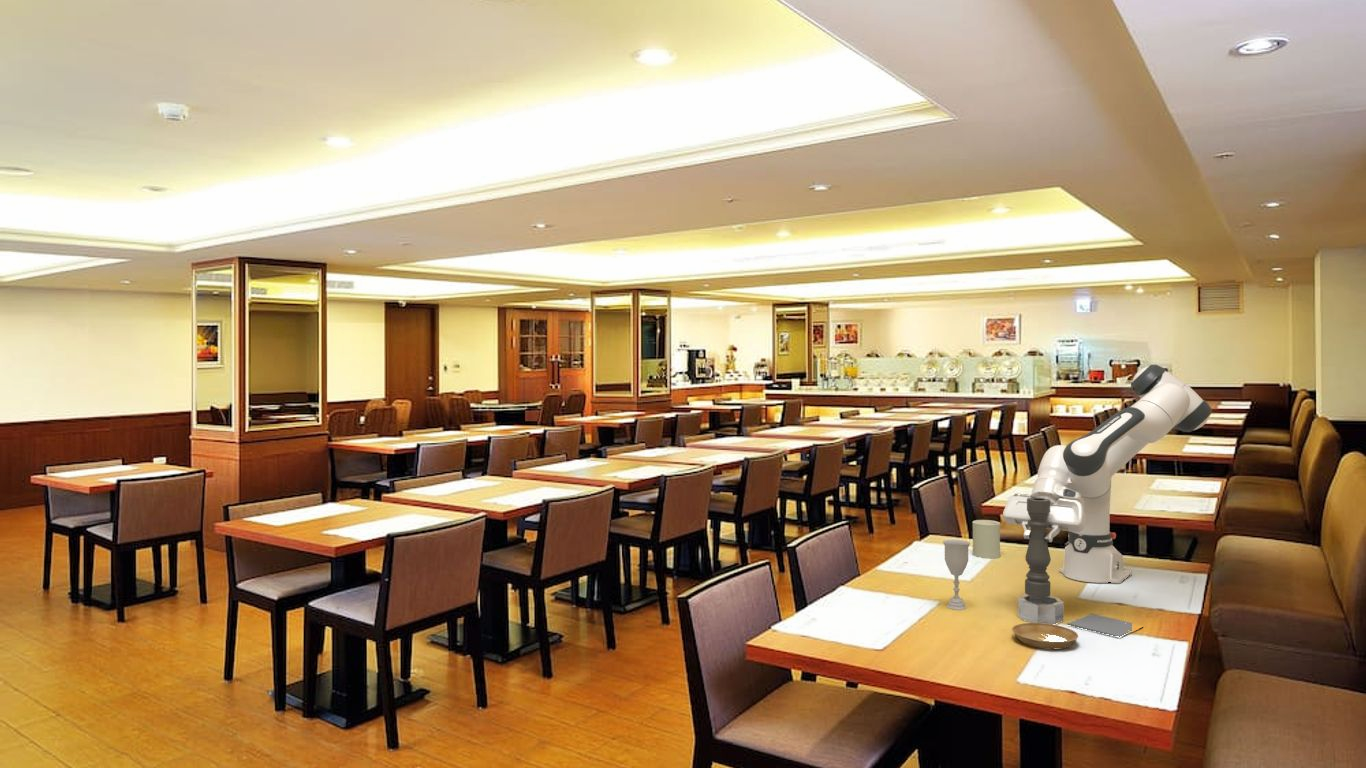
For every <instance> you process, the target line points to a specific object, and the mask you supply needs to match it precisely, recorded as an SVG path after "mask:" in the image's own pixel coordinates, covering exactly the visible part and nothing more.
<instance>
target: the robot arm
mask: <svg viewBox="0 0 1366 768" xmlns="http://www.w3.org/2000/svg"><path fill="white" fill-rule="evenodd" d="M1130 388H1131V390H1132V392H1133V394H1134V395H1135V397H1138V398H1140V399H1139V400H1138V401H1136V402H1134V404H1132V405H1131V406H1130V407H1129V406H1128V407H1125V408H1123V409H1121V410H1118V411H1117V412H1116V413H1114V414H1113V415H1112V416H1110V417H1109V418H1107V419H1105V421H1103V422H1102V423H1100V425H1098V426H1097V427H1095V428H1094V429H1092V430H1091V431H1090V432H1088V433H1086V434H1084V435H1082V436H1080V437H1078V438H1076V439H1073V440H1072V441H1071V442H1069V443H1068V444H1067V445H1064V444H1063V445H1062V444H1057V445H1053V446H1051V447H1050V448H1048V449H1047V450H1046V451H1045V452H1044V454H1043V456H1042V459H1041V461H1040V463H1039V467H1038V470H1037V478H1036V480H1035V481H1034V484H1033V487H1032V490H1031V494H1020V493H1014V494H1012V495H1010V496H1008V498H1007V501H1006V505H1005V507H1004V509H1003V512H1002V518H1003V520H1004V521H1005V523H1006V524H1008V525H1014V526H1022V528H1023V530H1024V532H1023V538H1024V540H1025V539H1026V540H1030V525H1029V524H1028V521H1029V520H1031V518H1030V516H1029V515H1028V511H1027V498H1046V499H1050V513H1049V516H1048V517H1047V519H1046V521H1047V522H1049V526H1047V528H1046V530H1047V529H1049V530H1050V532H1046V534H1045V535H1046V536H1045V541H1046V542H1047V543H1052V542H1053V540H1054V538H1055V537H1056V536H1057V535H1059V534H1060V531H1062V532H1063V531H1065V532H1068V535H1067V536H1068V545H1066V546H1065V547H1064V554H1063V565H1062V567H1060V568H1059V573H1061V574H1063V575H1064V576H1065V577H1067V578H1068V579H1071V580H1074V581H1079V582H1086V583H1097V584H1100V583H1101V584H1102V583H1103V584H1104V583H1105V584H1106V583H1107V584H1108V582H1111V583H1110V584H1121V583H1123V582H1124V581H1125V580H1126V578H1127V577H1128V576H1129V575H1130V576H1132V575H1133V571H1132V570H1130V569H1127V568H1125V567H1124V556H1123V555H1122V553H1121V552H1120V551H1119V550H1117V548H1115V546H1114V545H1113V544H1114V541H1113V540H1115V539H1116V538H1117V534H1116V532H1111V531H1110V523H1111V522H1110V520H1111V519H1110V518H1111V517H1110V516H1111V515H1110V509H1111V507H1110V506H1111V497H1112V495H1111V493H1112V477H1113V476H1114V475H1116V473H1118V471H1120V470H1122V468H1123V467H1124V466H1125V465H1127V463H1129V461H1130V460H1132V459H1133V458H1134V457H1135V456H1136V455H1137V454H1138V453H1140V452H1141V451H1142V450H1143V449H1144V448H1145V447H1146V446H1147V445H1149V444H1153V443H1156V442H1157V441H1160V440H1161V439H1163V438H1164V437H1165V436H1166V435H1167V434H1168V433H1169V432H1170V431H1172V429H1173V430H1179V431H1181V432H1186V433H1191V432H1193V431H1196V430H1198V429H1200V428H1202V427H1203V426H1205V425H1206V423H1207V422H1208V421H1209V419H1210V416H1211V414H1212V411H1213V409H1212V407H1211V405H1210V404H1209V402H1207V401H1206V399H1203V398H1201V396H1199V394H1198V393H1197V392H1196V391H1195V390H1194V389H1193V388H1192V387H1190V386H1189V385H1188V384H1187V383H1184V382H1183V381H1182V380H1181V379H1178V378H1177V377H1176V376H1175V375H1173V374H1171V373H1170V372H1168V371H1167V370H1166V368H1164V367H1162V366H1160V365H1159V364H1150V365H1148V366H1145V367H1143V368H1141V369H1139V370H1138V371H1137V372H1136V373H1135V375H1134V376H1133V377H1132V381H1131V383H1130ZM1131 574H1132V575H1131ZM1130 576H1129V577H1130ZM1129 577H1128V578H1129ZM1128 578H1127V579H1128ZM1124 579H1125V580H1124ZM1123 580H1124V581H1123ZM1122 581H1123V582H1122Z"/></svg>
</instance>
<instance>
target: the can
mask: <svg viewBox="0 0 1366 768" xmlns="http://www.w3.org/2000/svg"><path fill="white" fill-rule="evenodd" d="M971 555H972V556H973V555H974V557H975V556H976V557H977V558H979V557H981V558H980V559H998V558H1000V557H1002V556H1001V522H999V521H998V520H997V521H996V520H990V519H976V520H973V521H972V553H971Z"/></svg>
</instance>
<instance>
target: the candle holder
mask: <svg viewBox="0 0 1366 768" xmlns="http://www.w3.org/2000/svg"><path fill="white" fill-rule="evenodd" d="M1027 511H1028V515H1029V516H1030V518H1031V520H1029V521H1028V524H1029V525H1030V527H1029V531H1030V539H1029V542H1028V545H1027V550H1026V553H1025V556H1024V557H1025V559H1024V560H1025V562H1026V563H1027V565H1028V569H1029V570H1028V571H1027V573H1026V574H1025V577H1026V578H1025V580H1024V594H1027V595H1030V596H1034V597H1048V596H1051V581H1050V575H1049V574H1048V572H1047V570H1048V567H1049V565H1050V564H1051V559H1052V558H1051V555H1050V551H1049V549H1050V548H1049V545H1048V542H1046V541H1045V536H1046V535H1045V534H1046V533H1047V526H1049V522H1047V521H1046V519H1047V517H1048V516H1049V513H1050V499H1046V498H1027Z"/></svg>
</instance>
